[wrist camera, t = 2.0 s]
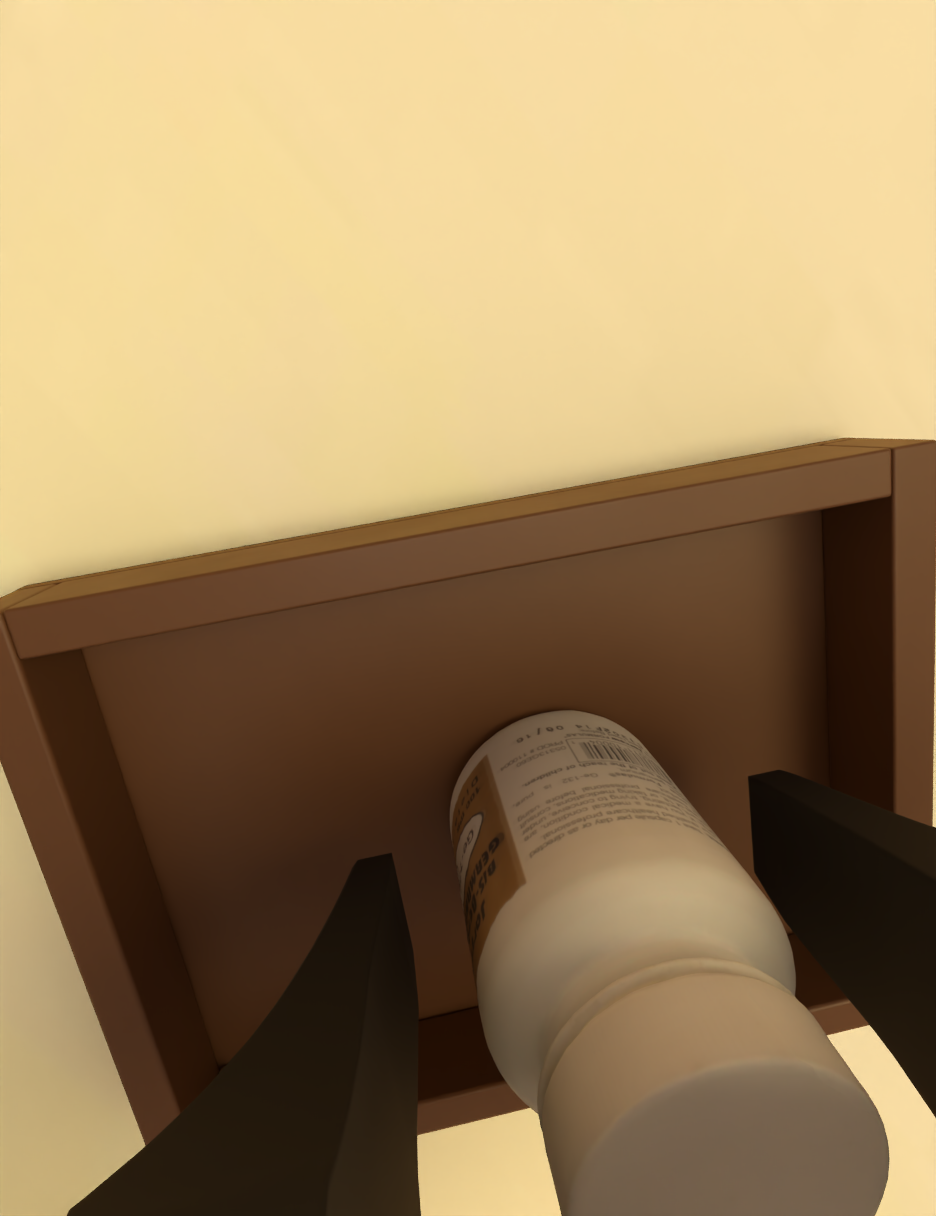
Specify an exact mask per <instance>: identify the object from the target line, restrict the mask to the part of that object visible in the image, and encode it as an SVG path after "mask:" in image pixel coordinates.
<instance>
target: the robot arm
mask: <svg viewBox="0 0 936 1216" xmlns="http://www.w3.org/2000/svg"><path fill="white" fill-rule="evenodd" d="M748 786H749V801H750V816H751V832H752V847H753V862H754V873H755V874H756V876H757V878H758V879H759V881H760V883H761V884H762V886H763V888H764V889H765V891H766V893H767V894H768V896H769V898H770V899H771V901H772V902H773V904H774V905H775V907H776V908H777V910H778V912H779V913H780V915H781V916H782V918H783V919H784V921H785V922H786V923H787V925H788V926H789V927H790V928H791V930H792V931H793V932H794V933H795V935H796V936H797V937H798V938H799V940H800V941H801V942H802V943H803V945H804V946H805V947H806V948H807V949H808V951H809V952H810V953H811V954H812V956H813V957H814V958H815V959H816V961H817V962H818V963H819V964H820V965H821V967H822V968H823V969H824V970H825V971H826V973H827V974H828V975H829V976H830V978H831V979H832V980H833V981H834V982H835V984H836V985H837V986H838V987H839V988H840V990H841V991H842V992H843V993H844V994H845V996H846V997H847V998H848V999H849V1001H850V1002H851V1003H852V1004H853V1005H854V1007H855V1008H856V1009H857V1010H858V1011H859V1013H860V1014H861V1015H862V1016H863V1017H864V1019H865V1020H866V1021H867V1022H868V1024H869V1025H870V1026H871V1027H872V1028H873V1030H874V1031H875V1032H876V1033H877V1035H878V1036H879V1037H880V1039H881V1040H882V1041H883V1043H884V1044H885V1045H886V1047H887V1048H888V1049H889V1051H890V1052H891V1053H892V1054H893V1056H894V1057H895V1059H896V1060H897V1061H898V1063H899V1064H900V1066H901V1067H902V1069H903V1070H904V1072H905V1073H906V1075H907V1076H908V1078H909V1079H910V1081H911V1082H912V1083H913V1085H914V1086H915V1088H916V1089H917V1091H918V1092H919V1094H920V1095H921V1097H922V1098H923V1100H924V1101H925V1103H926V1104H927V1105H928V1107H929V1108H930V1110H931V1111H932V1113H933V1114H934V1116H935V1117H936V828H935V827H932V826H929V825H926V824H923V823H920V822H918V821H915V820H912V819H909V818H907V817H904V816H901V815H898V814H896V813H893V812H890V811H888V810H885V809H883V808H880V807H877V806H875V805H872V804H870V803H867V802H865V801H862V800H860V799H857V798H855V797H852V796H849V795H847V794H844V793H842V792H839V791H837V790H834V789H832V788H829V787H827V786H824V785H822V784H819V783H817V782H814V781H812V780H809V779H806V778H804V777H801V776H798V775H796V774H793V773H790V772H786V771H783V770H780V769H779V770H775V771H770V772H765V773H761V774H756V775H751V776H748ZM418 1026H419V1004H418V993H417V982H416V972H415V962H414V953H413V946H412V941H411V937H410V933H409V928H408V924H407V919H406V915H405V910H404V906H403V901H402V897H401V892H400V888H399V883H398V879H397V874H396V870H395V865H394V861H393V856H392V853H388V854H383V855H378V856H374V857H369V858H364V859H360V860H357V862H356V863H355V864H354V866H353V867H352V869H351V872H350V874H349V876H348V878H347V881H346V883H345V885H344V887H343V889H342V891H341V893H340V896H339V898H338V900H337V902H336V904H335V906H334V908H333V910H332V912H331V913H330V915H329V917H328V919H327V921H326V923H325V924H324V926H323V928H322V930H321V932H320V934H319V935H318V937H317V939H316V941H315V943H314V945H313V946H312V948H311V950H310V951H309V953H308V955H307V956H306V958H305V959H304V961H303V963H302V964H301V966H300V967H299V969H298V971H297V972H296V974H295V975H294V977H293V979H292V980H291V982H290V983H289V985H288V986H287V988H286V989H285V991H284V992H283V994H282V995H281V997H280V998H279V1000H278V1001H277V1003H276V1004H275V1005H274V1007H273V1008H272V1009H271V1011H270V1012H269V1014H268V1015H267V1016H266V1018H265V1019H264V1020H263V1022H262V1023H261V1024H260V1026H259V1027H258V1028H257V1029H256V1031H255V1032H254V1033H253V1035H252V1036H251V1037H250V1038H249V1040H248V1041H247V1042H246V1043H245V1044H244V1045H243V1047H242V1048H241V1049H240V1050H239V1051H238V1052H237V1053H236V1055H235V1056H234V1057H233V1058H232V1059H231V1060H230V1061H229V1062H228V1064H227V1065H226V1066H225V1067H224V1068H223V1069H222V1070H221V1072H220V1073H219V1074H218V1075H217V1076H216V1077H215V1078H214V1079H213V1081H212V1082H211V1083H210V1084H209V1085H208V1086H207V1087H206V1088H205V1089H204V1090H203V1091H202V1092H201V1093H200V1094H199V1095H198V1096H197V1097H196V1098H195V1099H194V1100H193V1101H192V1102H191V1103H190V1104H189V1105H188V1106H187V1107H186V1108H185V1109H184V1110H183V1111H182V1112H181V1113H180V1114H179V1115H178V1116H177V1117H176V1118H175V1119H174V1120H173V1121H172V1122H171V1123H170V1124H169V1125H168V1126H167V1127H166V1128H165V1129H164V1130H163V1131H162V1132H160V1133H159V1134H158V1135H157V1136H156V1137H155V1138H154V1139H153V1140H152V1141H151V1142H150V1143H149V1144H147V1145H146V1146H145V1147H144V1148H143V1149H142V1150H141V1151H140V1152H139V1153H137V1154H136V1155H135V1156H134V1157H133V1158H132V1159H130V1160H129V1161H128V1162H127V1163H126V1164H124V1165H123V1166H122V1167H121V1168H120V1169H118V1170H117V1171H116V1172H115V1173H114V1174H113V1175H111V1176H110V1177H109V1178H108V1179H107V1180H105V1181H104V1182H103V1183H102V1184H101V1185H99V1186H98V1187H97V1188H96V1189H95V1190H94V1191H92V1192H91V1193H90V1194H89V1195H88V1196H86V1197H85V1198H84V1199H83V1200H81V1201H80V1202H79V1203H78V1204H76V1205H75V1206H74V1207H73V1208H71V1209H70V1210H69V1212H68V1214H67V1216H421V1211H420V1197H419V1183H418V1160H417V1107H418Z"/></svg>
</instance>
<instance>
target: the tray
mask: <svg viewBox="0 0 936 1216" xmlns="http://www.w3.org/2000/svg"><path fill="white" fill-rule="evenodd" d="M935 593H936V441H935V440H915V439H869V438H857V439H856V438H841V439H836V440H830V441H824V442H819V443H813V444H808V445H802V446H797V447H791V448H786V449H780V450H775V451H769V452H764V453H758V454H752V455H747V456H741V457H736V458H730V459H725V460H719V461H714V462H708V463H703V464H697V465H692V466H686V467H680V468H675V469H669V470H664V471H658V472H653V473H647V474H642V475H636V476H631V477H625V478H620V479H614V480H609V481H603V482H597V483H592V484H586V485H581V486H575V487H570V488H564V489H559V490H553V491H548V492H542V493H537V494H531V495H525V496H520V497H514V498H509V499H503V500H498V501H492V502H487V503H481V504H476V505H470V506H465V507H459V508H453V509H448V510H442V511H437V512H431V513H426V514H420V515H415V516H409V517H404V518H398V519H393V520H387V521H382V522H376V523H370V524H365V525H359V526H354V527H348V528H343V529H337V530H332V531H326V532H321V533H315V534H310V535H304V536H298V537H293V538H287V539H282V540H276V541H271V542H265V543H260V544H254V545H249V546H243V547H238V548H232V549H226V550H221V551H215V552H210V553H204V554H199V555H193V556H188V557H182V558H177V559H171V560H166V561H160V562H155V563H149V564H143V565H138V566H132V567H127V568H121V569H116V570H110V571H105V572H99V573H94V574H88V575H83V576H77V577H71V578H66V579H60V580H55V581H49V582H44V583H38V584H33V585H27V586H24V587H22V588H20V589H18V590H16V591H14V592H12V593H10V594H8V595H5V596H3V597H1V598H0V762H1V764H2V767H3V769H4V772H5V775H6V777H7V780H8V783H9V785H10V788H11V791H12V793H13V796H14V798H15V801H16V804H17V806H18V809H19V812H20V814H21V817H22V820H23V822H24V825H25V828H26V830H27V833H28V835H29V838H30V841H31V843H32V846H33V849H34V851H35V854H36V857H37V859H38V862H39V865H40V867H41V870H42V872H43V875H44V878H45V880H46V883H47V886H48V888H49V891H50V894H51V896H52V899H53V902H54V904H55V907H56V909H57V912H58V915H59V917H60V920H61V923H62V925H63V928H64V931H65V933H66V936H67V939H68V941H69V944H70V946H71V949H72V952H73V954H74V957H75V960H76V962H77V965H78V968H79V970H80V973H81V976H82V978H83V981H84V983H85V986H86V989H87V991H88V994H89V997H90V999H91V1002H92V1005H93V1007H94V1010H95V1013H96V1015H97V1018H98V1020H99V1023H100V1026H101V1028H102V1031H103V1034H104V1036H105V1039H106V1042H107V1044H108V1047H109V1050H110V1052H111V1055H112V1057H113V1060H114V1063H115V1065H116V1068H117V1071H118V1073H119V1076H120V1079H121V1081H122V1084H123V1087H124V1089H125V1092H126V1094H127V1097H128V1100H129V1102H130V1105H131V1108H132V1110H133V1113H134V1116H135V1118H136V1121H137V1123H138V1126H139V1129H140V1131H141V1134H142V1137H143V1139H144V1142H145V1145H147V1144H149V1143H150V1142H151V1141H152V1140H153V1139H154V1138H155V1137H156V1136H157V1135H158V1134H159V1133H160V1132H162V1131H163V1130H164V1129H165V1128H166V1127H167V1126H168V1125H169V1124H170V1123H171V1122H172V1121H173V1120H174V1119H175V1118H176V1117H177V1116H178V1115H179V1114H180V1113H181V1112H182V1111H183V1110H184V1109H185V1108H186V1107H187V1106H188V1105H189V1104H190V1103H191V1102H192V1101H193V1100H194V1099H195V1098H196V1097H197V1096H198V1095H199V1094H200V1093H201V1092H202V1091H203V1090H204V1089H205V1088H206V1087H207V1086H208V1085H209V1084H210V1083H211V1082H212V1081H213V1079H214V1078H215V1077H216V1076H217V1075H218V1074H219V1073H220V1072H221V1070H222V1069H223V1068H224V1067H225V1066H226V1065H227V1064H228V1062H229V1061H230V1060H231V1059H232V1058H233V1057H234V1056H235V1055H236V1053H237V1052H238V1051H239V1050H240V1049H241V1048H242V1047H243V1045H244V1044H245V1043H246V1042H247V1041H248V1040H249V1038H250V1037H251V1036H252V1035H253V1033H254V1032H255V1031H256V1029H257V1028H258V1027H259V1026H260V1024H261V1023H262V1022H263V1020H264V1019H265V1018H266V1016H267V1015H268V1014H269V1012H270V1011H271V1009H272V1008H273V1007H274V1005H275V1004H276V1003H277V1001H278V1000H279V998H280V997H281V995H282V994H283V992H284V991H285V989H286V988H287V986H288V985H289V983H290V982H291V980H292V979H293V977H294V975H295V974H296V972H297V971H298V969H299V967H300V966H301V964H302V963H303V961H304V959H305V958H306V956H307V955H308V953H309V951H310V950H311V948H312V946H313V945H314V943H315V941H316V939H317V937H318V935H319V934H320V932H321V930H322V928H323V926H324V924H325V923H326V921H327V919H328V917H329V915H330V913H331V912H332V910H333V908H334V906H335V904H336V902H337V900H338V898H339V896H340V893H341V891H342V889H343V887H344V885H345V883H346V881H347V878H348V876H349V874H350V872H351V869H352V867H353V866H354V864H355V863H356V862H357V860H360V859H364V858H369V857H374V856H378V855H383V854H388V853H392V856H393V861H394V865H395V870H396V874H397V879H398V883H399V888H400V892H401V897H402V901H403V906H404V910H405V915H406V919H407V924H408V928H409V933H410V937H411V941H412V946H413V953H414V962H415V972H416V982H417V993H418V1004H419V1026H418V1107H417V1135H420V1134H424V1133H429V1132H433V1131H437V1130H441V1129H445V1128H449V1127H453V1126H457V1125H461V1124H465V1123H470V1122H474V1121H478V1120H482V1119H486V1118H490V1117H494V1116H498V1115H502V1114H506V1113H511V1112H515V1111H519V1110H523V1109H527V1108H530V1107H529V1106H528V1105H526V1104H525V1103H524V1102H523V1101H522V1100H521V1099H520V1098H519V1097H518V1095H517V1094H516V1093H515V1092H514V1091H513V1090H512V1089H511V1088H510V1086H509V1085H508V1084H507V1082H506V1081H505V1079H504V1078H503V1076H502V1075H501V1073H500V1072H499V1070H498V1068H497V1066H496V1064H495V1062H494V1060H493V1057H492V1055H491V1053H490V1050H489V1048H488V1045H487V1042H486V1038H485V1035H484V1030H483V1025H482V1021H481V1016H480V1011H479V1005H478V999H477V995H476V988H475V979H474V974H473V969H472V958H471V953H470V948H469V943H468V940H467V930H466V922H465V916H464V910H463V905H462V900H461V894H460V884H459V879H458V873H457V867H456V863H455V857H454V849H453V844H452V839H451V832H450V805H451V799H452V794H453V791H454V788H455V785H456V783H457V781H458V778H459V776H460V774H461V772H462V770H463V769H464V767H465V766H466V764H467V763H468V761H469V760H470V758H471V757H472V756H473V754H474V753H475V752H476V751H477V750H478V749H479V748H480V747H481V746H482V745H483V744H484V743H485V742H486V741H487V740H489V739H490V738H491V737H492V736H494V735H495V734H496V733H497V732H499V731H500V730H502V729H504V728H505V727H507V726H509V725H511V724H512V723H515V722H517V721H519V720H521V719H524V718H526V717H530V716H533V715H537V714H541V713H546V712H552V711H562V710H574V711H580V712H586V713H590V714H594V715H597V716H601V717H604V718H606V719H608V720H611V721H613V722H615V723H616V724H618V725H620V726H621V727H623V728H624V729H626V730H627V731H629V732H630V733H631V734H632V735H633V736H635V737H636V738H637V739H638V740H639V741H640V742H641V743H642V744H643V745H644V747H645V748H646V749H647V750H648V751H649V753H650V754H651V755H652V756H653V757H654V759H655V760H656V761H657V762H658V763H659V765H660V766H661V767H662V768H663V770H664V771H665V772H666V773H667V775H668V776H669V777H670V778H671V780H672V781H673V782H674V783H675V785H676V786H677V787H678V789H679V790H680V791H681V792H682V794H683V795H684V796H685V797H686V798H687V800H688V801H689V802H690V803H691V805H692V806H693V807H694V808H695V810H696V811H697V812H698V813H699V814H700V816H701V817H702V818H703V819H704V821H705V822H706V823H707V824H708V826H709V827H710V828H711V829H712V831H713V832H714V833H715V834H716V836H717V837H718V838H719V839H720V840H721V842H722V843H723V844H724V845H725V847H726V848H727V849H728V850H729V852H730V853H731V854H732V855H733V856H734V858H735V859H736V860H737V861H738V862H739V864H740V865H741V866H742V867H743V868H744V870H745V871H746V872H747V873H748V875H749V876H750V877H751V879H752V880H753V881H754V883H755V884H756V885H757V886H758V888H759V889H760V890H761V891H762V893H763V894H764V895H765V896H766V898H767V899H768V900H769V902H770V903H771V904H772V906H773V908H774V909H775V911H776V913H777V915H778V916H779V918H780V920H781V922H782V924H783V926H784V929H785V931H786V933H787V936H788V939H789V942H790V945H791V948H792V953H793V959H794V966H795V972H796V989H795V997H796V999H797V1000H798V1001H799V1002H800V1003H802V1004H803V1005H804V1006H805V1007H806V1008H807V1009H808V1011H809V1012H810V1013H811V1014H812V1015H813V1016H814V1017H815V1019H816V1020H817V1022H818V1023H819V1025H820V1026H821V1028H822V1029H823V1030H824V1032H825V1034H826V1035H830V1034H834V1033H838V1032H842V1031H847V1030H851V1029H855V1028H859V1027H863V1026H867V1025H869V1024H868V1022H867V1021H866V1020H865V1019H864V1017H863V1016H862V1015H861V1014H860V1013H859V1011H858V1010H857V1009H856V1008H855V1007H854V1005H853V1004H852V1003H851V1002H850V1001H849V999H848V998H847V997H846V996H845V994H844V993H843V992H842V991H841V990H840V988H839V987H838V986H837V985H836V984H835V982H834V981H833V980H832V979H831V978H830V976H829V975H828V974H827V973H826V971H825V970H824V969H823V968H822V967H821V965H820V964H819V963H818V962H817V961H816V959H815V958H814V957H813V956H812V954H811V953H810V952H809V951H808V949H807V948H806V947H805V946H804V945H803V943H802V942H801V941H800V940H799V938H798V937H797V936H796V935H795V933H794V932H793V931H792V930H791V928H790V927H789V926H788V925H787V923H786V922H785V921H784V919H783V918H782V916H781V915H780V913H779V912H778V910H777V908H776V907H775V905H774V904H773V902H772V901H771V899H770V898H769V896H768V894H767V893H766V891H765V889H764V888H763V886H762V884H761V883H760V881H759V879H758V878H757V876H756V874H755V873H754V862H753V847H752V832H751V816H750V801H749V786H748V776H751V775H756V774H761V773H765V772H770V771H775V770H779V769H780V770H783V771H786V772H790V773H793V774H796V775H798V776H801V777H804V778H806V779H809V780H812V781H814V782H817V783H819V784H822V785H824V786H827V787H829V788H832V789H834V790H837V791H839V792H842V793H844V794H847V795H849V796H852V797H855V798H857V799H860V800H862V801H865V802H867V803H870V804H872V805H875V806H877V807H880V808H883V809H885V810H888V811H890V812H893V813H896V814H898V815H901V816H904V817H907V818H909V819H912V820H915V821H918V822H920V823H923V824H926V825H929V826H932V819H933V744H934V668H935Z"/></svg>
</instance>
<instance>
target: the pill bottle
mask: <svg viewBox="0 0 936 1216" xmlns="http://www.w3.org/2000/svg"><path fill="white" fill-rule="evenodd" d="M450 832H451V839H452V844H453V849H454V857H455V863H456V867H457V873H458V879H459V884H460V894H461V900H462V905H463V910H464V916H465V922H466V930H467V940H468V943H469V948H470V953H471V958H472V969H473V974H474V979H475V988H476V995H477V999H478V1005H479V1011H480V1016H481V1021H482V1025H483V1030H484V1035H485V1038H486V1042H487V1045H488V1048H489V1050H490V1053H491V1055H492V1057H493V1060H494V1062H495V1064H496V1066H497V1068H498V1070H499V1072H500V1073H501V1075H502V1076H503V1078H504V1079H505V1081H506V1082H507V1084H508V1085H509V1086H510V1088H511V1089H512V1090H513V1091H514V1092H515V1093H516V1094H517V1095H518V1097H519V1098H520V1099H521V1100H522V1101H523V1102H524V1103H525V1104H526V1105H528V1106H529V1107H530V1108H531V1109H533V1110H534V1111H535V1112H537V1113H538V1114H539V1119H540V1125H541V1129H542V1132H543V1137H544V1142H545V1147H546V1153H547V1157H548V1161H549V1165H550V1169H551V1173H552V1177H553V1181H554V1185H555V1189H556V1193H557V1197H558V1202H559V1206H560V1210H561V1214H562V1216H875V1214H876V1212H877V1209H878V1207H879V1205H880V1202H881V1200H882V1197H883V1194H884V1190H885V1187H886V1183H887V1180H888V1170H889V1147H888V1140H887V1136H886V1132H885V1128H884V1124H883V1122H882V1120H881V1117H880V1115H879V1113H878V1111H877V1108H876V1107H875V1105H874V1103H873V1102H872V1100H871V1098H870V1097H869V1095H868V1094H867V1092H866V1091H865V1089H864V1088H863V1087H862V1085H861V1084H860V1083H859V1081H858V1080H857V1079H856V1077H855V1076H854V1074H853V1073H852V1071H851V1070H850V1068H849V1067H848V1065H847V1064H846V1063H845V1061H844V1060H843V1058H842V1057H841V1056H840V1054H839V1053H838V1051H837V1050H836V1049H835V1047H834V1046H833V1045H832V1043H831V1042H830V1040H829V1039H828V1037H827V1036H826V1034H825V1032H824V1030H823V1029H822V1028H821V1026H820V1025H819V1023H818V1022H817V1020H816V1019H815V1017H814V1016H813V1015H812V1014H811V1013H810V1012H809V1011H808V1009H807V1008H806V1007H805V1006H804V1005H803V1004H802V1003H800V1002H799V1001H798V1000H797V999H796V997H795V989H796V972H795V966H794V959H793V953H792V948H791V945H790V942H789V939H788V936H787V933H786V931H785V929H784V926H783V924H782V922H781V920H780V918H779V916H778V915H777V913H776V911H775V909H774V908H773V906H772V904H771V903H770V902H769V900H768V899H767V898H766V896H765V895H764V894H763V893H762V891H761V890H760V889H759V888H758V886H757V885H756V884H755V883H754V881H753V880H752V879H751V877H750V876H749V875H748V873H747V872H746V871H745V870H744V868H743V867H742V866H741V865H740V864H739V862H738V861H737V860H736V859H735V858H734V856H733V855H732V854H731V853H730V852H729V850H728V849H727V848H726V847H725V845H724V844H723V843H722V842H721V840H720V839H719V838H718V837H717V836H716V834H715V833H714V832H713V831H712V829H711V828H710V827H709V826H708V824H707V823H706V822H705V821H704V819H703V818H702V817H701V816H700V814H699V813H698V812H697V811H696V810H695V808H694V807H693V806H692V805H691V803H690V802H689V801H688V800H687V798H686V797H685V796H684V795H683V794H682V792H681V791H680V790H679V789H678V787H677V786H676V785H675V783H674V782H673V781H672V780H671V778H670V777H669V776H668V775H667V773H666V772H665V771H664V770H663V768H662V767H661V766H660V765H659V763H658V762H657V761H656V760H655V759H654V757H653V756H652V755H651V754H650V753H649V751H648V750H647V749H646V748H645V747H644V745H643V744H642V743H641V742H640V741H639V740H638V739H637V738H636V737H635V736H633V735H632V734H631V733H630V732H629V731H627V730H626V729H624V728H623V727H621V726H620V725H618V724H616V723H615V722H613V721H611V720H608V719H606V718H604V717H601V716H597V715H594V714H590V713H586V712H580V711H574V710H562V711H552V712H546V713H541V714H537V715H533V716H530V717H526V718H524V719H521V720H519V721H517V722H515V723H512V724H511V725H509V726H507V727H505V728H504V729H502V730H500V731H499V732H497V733H496V734H495V735H494V736H492V737H491V738H490V739H489V740H487V741H486V742H485V743H484V744H483V745H482V746H481V747H480V748H479V749H478V750H477V751H476V752H475V753H474V754H473V756H472V757H471V758H470V760H469V761H468V763H467V764H466V766H465V767H464V769H463V770H462V772H461V774H460V776H459V778H458V781H457V783H456V785H455V788H454V791H453V794H452V799H451V805H450Z"/></svg>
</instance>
